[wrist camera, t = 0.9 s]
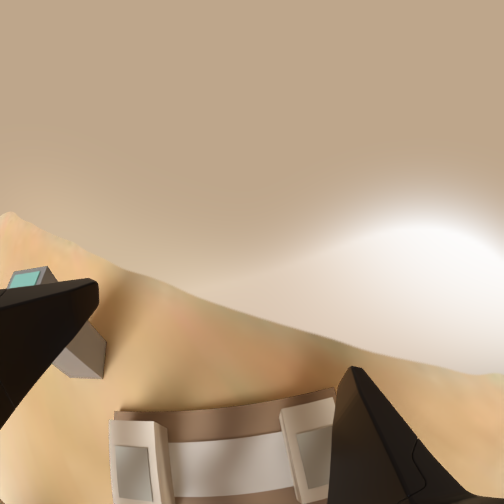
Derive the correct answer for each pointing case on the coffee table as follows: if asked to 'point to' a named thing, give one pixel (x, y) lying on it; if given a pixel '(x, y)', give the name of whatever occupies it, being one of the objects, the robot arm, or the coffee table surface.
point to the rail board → (225, 453)
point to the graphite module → (84, 343)
